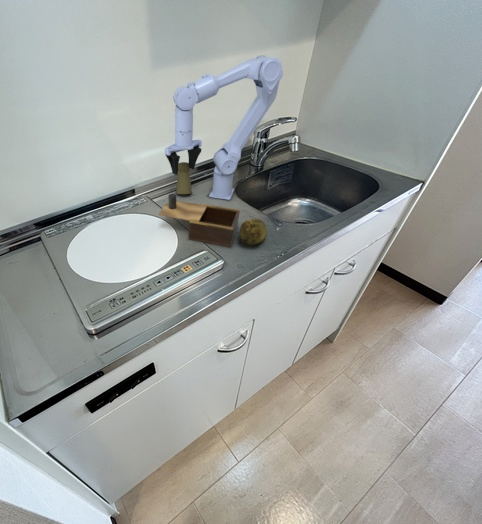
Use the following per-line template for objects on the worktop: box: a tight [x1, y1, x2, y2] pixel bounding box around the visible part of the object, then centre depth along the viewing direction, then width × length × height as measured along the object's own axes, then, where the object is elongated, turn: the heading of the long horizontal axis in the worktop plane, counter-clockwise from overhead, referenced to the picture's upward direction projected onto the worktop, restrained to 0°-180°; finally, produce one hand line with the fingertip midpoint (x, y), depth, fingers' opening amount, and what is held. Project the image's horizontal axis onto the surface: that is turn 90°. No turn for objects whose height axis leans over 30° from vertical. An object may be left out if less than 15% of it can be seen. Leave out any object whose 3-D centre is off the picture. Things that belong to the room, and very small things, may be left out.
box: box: [188, 203, 241, 248], centre depth 85 cm, size 11×13×6 cm
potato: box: [239, 218, 268, 246], centre depth 81 cm, size 8×13×8 cm, turn 132°
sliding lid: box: [158, 193, 208, 222], centre depth 84 cm, size 9×13×5 cm
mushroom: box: [175, 161, 193, 195], centre depth 105 cm, size 6×6×11 cm
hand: (183, 171), depth 99 cm, fingers open, 7 cm apart
